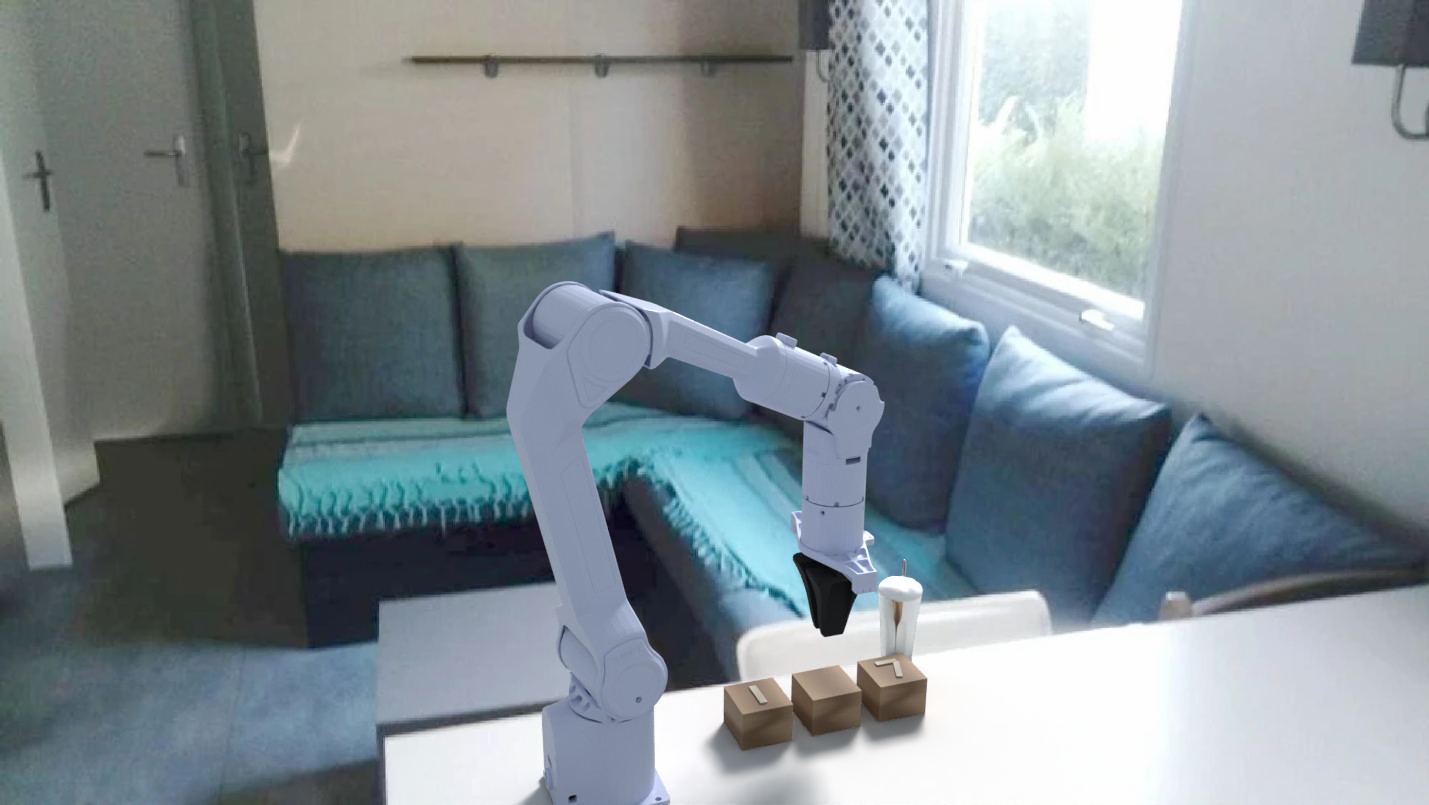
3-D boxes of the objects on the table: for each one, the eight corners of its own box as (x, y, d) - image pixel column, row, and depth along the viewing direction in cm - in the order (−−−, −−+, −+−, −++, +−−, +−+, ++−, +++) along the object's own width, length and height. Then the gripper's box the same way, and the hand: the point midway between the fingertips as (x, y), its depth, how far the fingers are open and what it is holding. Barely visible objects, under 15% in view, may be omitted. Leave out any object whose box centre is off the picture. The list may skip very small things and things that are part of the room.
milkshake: (921, 647, 124) (926, 562, 120) (915, 672, 119) (921, 584, 116) (878, 641, 125) (883, 557, 122) (871, 665, 120) (876, 578, 117)
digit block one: (742, 752, 105) (742, 713, 104) (723, 723, 110) (723, 685, 109) (792, 742, 107) (793, 703, 106) (771, 713, 111) (772, 675, 110)
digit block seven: (878, 724, 110) (880, 685, 109) (855, 696, 114) (857, 660, 113) (925, 714, 111) (927, 676, 110) (900, 688, 116) (902, 651, 115)
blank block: (812, 738, 108) (813, 700, 106) (790, 710, 112) (791, 673, 111) (860, 727, 109) (861, 690, 108) (837, 700, 114) (838, 664, 113)
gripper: (911, 519, 98) (903, 660, 103) (839, 463, 111) (834, 590, 116) (837, 530, 96) (831, 673, 100) (771, 471, 109) (769, 600, 113)
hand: (828, 629), depth 108 cm, fingers closed
